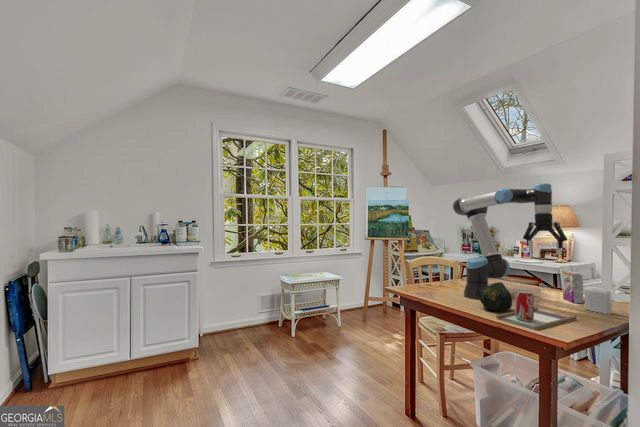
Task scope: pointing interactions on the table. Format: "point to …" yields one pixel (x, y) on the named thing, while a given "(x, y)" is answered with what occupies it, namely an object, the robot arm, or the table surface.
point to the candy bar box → (572, 287)
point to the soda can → (524, 305)
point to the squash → (496, 297)
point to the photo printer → (598, 300)
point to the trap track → (536, 319)
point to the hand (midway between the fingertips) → (544, 253)
